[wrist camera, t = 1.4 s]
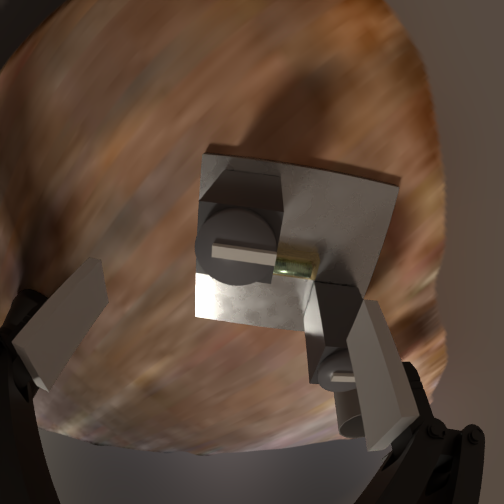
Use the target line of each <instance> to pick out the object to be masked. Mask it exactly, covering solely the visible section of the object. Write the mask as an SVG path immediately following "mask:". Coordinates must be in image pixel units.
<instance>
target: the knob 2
mask: <svg viewBox="0 0 504 504" xmlns="http://www.w3.org/2000/svg"><path fill="white" fill-rule="evenodd" d="M362 302H363V299H362V296H361V294H360V291H359V288H357V287H349V286H341V285H333V284H325V283H317V282H314V284H313V288H312V291H311V295H310V298H309V302H308V305H307V308H306V312H305V315H304V328H305V338H306V348H307V359H308V371H309V383H310V384H319V385H320V386H321V387H322V388H324V389H325V390H328V391H332V392H344V391H349V390H353V389H355V388H357V387H356V383H355V378H354V373H353V368H352V363H351V359H350V354H349V350H348V346H347V341H346V340H347V337H348V335H349V333H350V331H351V328H352V326H353V324H354V321H355V319H356V317H357V314H358V312H359V309H360V307H361V304H362Z"/></svg>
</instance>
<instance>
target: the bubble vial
mask: <svg viewBox="0 0 504 504" xmlns="http://www.w3.org/2000/svg"><path fill="white" fill-rule="evenodd" d="M319 264H320V257H319V254H318V253H312V252H305V251H298V250H291V249H284V248H278V249H277V256H276V262H275V266H274V271H273V275H279V276H286V277H293V278H301V279H308V280H315V279H316V275H317V272H318V268H319Z"/></svg>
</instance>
